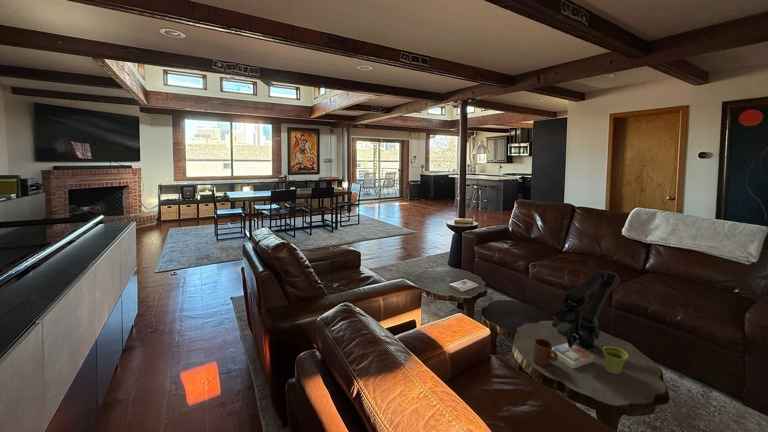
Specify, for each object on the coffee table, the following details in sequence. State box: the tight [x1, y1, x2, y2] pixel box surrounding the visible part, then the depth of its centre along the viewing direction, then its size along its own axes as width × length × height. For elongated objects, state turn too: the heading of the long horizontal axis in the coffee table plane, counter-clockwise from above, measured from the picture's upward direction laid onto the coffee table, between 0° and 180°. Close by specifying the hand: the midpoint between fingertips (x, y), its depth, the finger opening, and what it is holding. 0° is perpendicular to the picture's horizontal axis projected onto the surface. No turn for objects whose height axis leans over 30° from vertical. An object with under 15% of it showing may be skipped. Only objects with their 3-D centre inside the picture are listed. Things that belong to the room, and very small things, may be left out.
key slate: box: [553, 344, 569, 355], centre depth 170 cm, size 4×4×2 cm
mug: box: [532, 338, 558, 367], centre depth 163 cm, size 12×8×9 cm, turn 22°
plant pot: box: [602, 346, 629, 375], centre depth 159 cm, size 9×9×9 cm
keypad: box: [551, 342, 594, 370], centre depth 169 cm, size 13×13×3 cm
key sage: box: [565, 351, 580, 362], centre depth 165 cm, size 4×4×2 cm
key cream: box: [564, 345, 577, 351], centre depth 172 cm, size 4×4×2 cm
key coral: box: [574, 347, 590, 359], centre depth 167 cm, size 4×4×2 cm
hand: (570, 347), depth 172 cm, fingers closed
